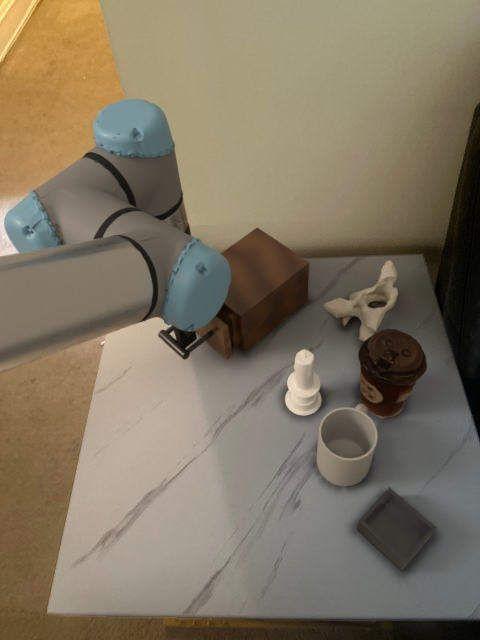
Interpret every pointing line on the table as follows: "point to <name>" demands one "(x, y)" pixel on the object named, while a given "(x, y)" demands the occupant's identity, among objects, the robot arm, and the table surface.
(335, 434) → the cup
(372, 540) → the tray
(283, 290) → the cabinet
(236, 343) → the drawer
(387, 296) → the bone
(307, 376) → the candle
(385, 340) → the coffee cup
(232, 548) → the table surface
